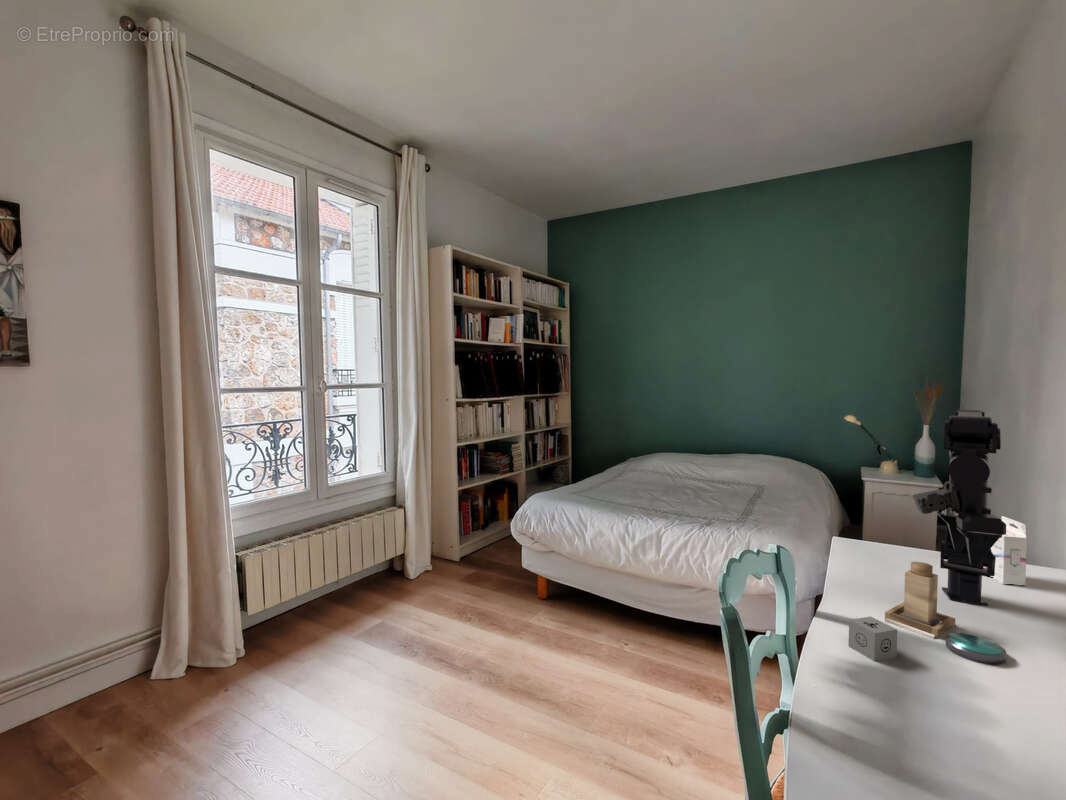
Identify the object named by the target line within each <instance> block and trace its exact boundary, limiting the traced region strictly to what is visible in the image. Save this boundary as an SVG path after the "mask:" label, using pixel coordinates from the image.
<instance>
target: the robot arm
mask: <svg viewBox="0 0 1066 800" xmlns="http://www.w3.org/2000/svg"><path fill="white" fill-rule="evenodd" d="M998 425H999V424H997V423H996V422H992V417H991V416H985V411H983V410H980V409H979V410H977V409H974V410H973V409H972V410H971V409H958V410H955V414H954V415H950V416H949V420H945V421H944V433H943V451H948V452H949V453H948V455H949V463H948V474H949V476H948V477H949V479H948V480H946V481H945V482H944V483H943V488H941V489H936V490H935V489H934V490H929V491H925V492H920V493H916V494H913V495H912V498H913V500H914V503H915V506H916V508H917V510H918V511H919V512H921V514H925V515H926V514H932V513H933V512H936V515H937V516H939V517H940V518H941V519H942V520H943V521H944V522H945V523H946V525H947V530H946V532H945V534H944V535H945V536H944V540H941V541H940V563H939V565H940V566H939V567H940V569H946V570H947V587H945V586H942V587H941V590H942V592H943V593H944V594H945V595H946V596H947V598H948V599H949V600H951V601H958V602H964V603H970V604H976V605H984V606H988V605H989V603H988V601H987V600H986V599H985V598H984V597H983V596H982V588H983V587H982V585H983V577H987V578H990V577H991V576H995V560H996V557H995V556H994V555H993V553H992V552H991V547H992V546H993V545H994V544H995V543H996V541H997V540H998V539H999V538H1002V535H1006V524H1005V523H1004V522H1003V521H1002V518H1000V517H998V516H995V515H994V514H992V513H991V512H992V509H991V508H989V507H988V494H992V487H990V486H988V482H989V478H990V473H991V471H990V470H991V469H990V466H989V454H997V450H1001V448H1002V447H1001V444H1002V443H1001V428H999V426H998ZM983 567H987V568H983Z"/></svg>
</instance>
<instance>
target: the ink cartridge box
mask: <svg viewBox="0 0 1066 800" xmlns="http://www.w3.org/2000/svg"><path fill="white" fill-rule="evenodd" d="M1001 520H1002V521H1003V522H1004V523H1005V524H1006V535H1002V538H999V539H998V540H997V541H996V543H995V544H994V545H993V546H992V547H991V552H992V553H993V555H994V556H995V557H996V560H995V576H991V577H993V578H994V579H996V580H998V581H999V582H1001V583H1003V584H1002V585H1005V584H1018V585H1017V586H1019V585H1020V584H1021V585H1025V586H1026V580H1027V579H1026V578H1027V577H1026V573H1027V550H1028V548H1027V546H1028V538H1027V526H1026V524H1024V523H1022V522H1020V521H1017V520H1014V519H1012V518H1009V517H1006V516H1003V515H1002V516H1001ZM1012 525H1014V526H1016V527H1017V528H1016V527H1014V526H1012ZM983 568H987V567H983ZM994 579H993V580H994ZM996 580H995V581H996ZM999 582H998V583H999ZM1001 583H1000V584H1001Z"/></svg>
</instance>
